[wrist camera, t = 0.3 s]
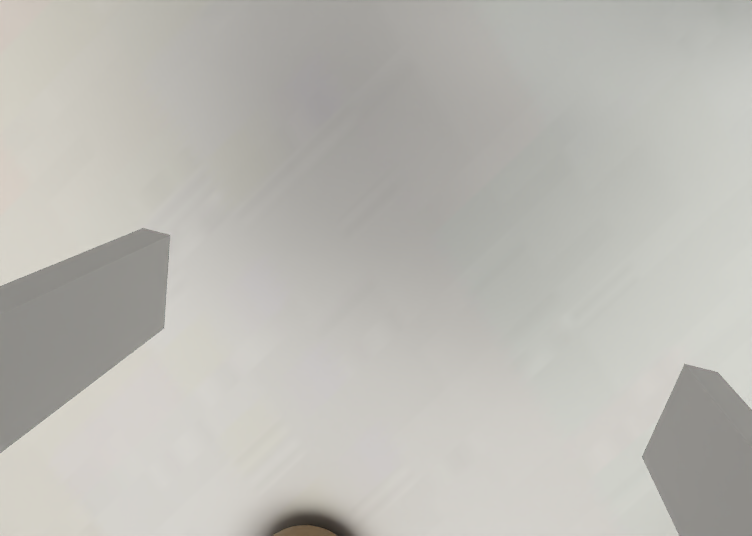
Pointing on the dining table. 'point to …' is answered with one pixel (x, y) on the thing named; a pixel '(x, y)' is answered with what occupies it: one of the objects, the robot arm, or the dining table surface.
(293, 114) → the dining table surface
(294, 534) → the vase
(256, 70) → the dining table surface
